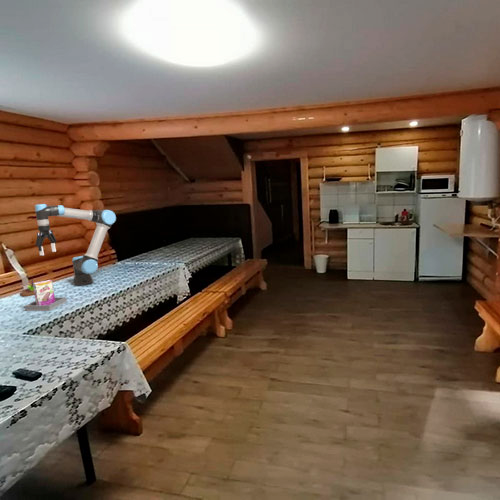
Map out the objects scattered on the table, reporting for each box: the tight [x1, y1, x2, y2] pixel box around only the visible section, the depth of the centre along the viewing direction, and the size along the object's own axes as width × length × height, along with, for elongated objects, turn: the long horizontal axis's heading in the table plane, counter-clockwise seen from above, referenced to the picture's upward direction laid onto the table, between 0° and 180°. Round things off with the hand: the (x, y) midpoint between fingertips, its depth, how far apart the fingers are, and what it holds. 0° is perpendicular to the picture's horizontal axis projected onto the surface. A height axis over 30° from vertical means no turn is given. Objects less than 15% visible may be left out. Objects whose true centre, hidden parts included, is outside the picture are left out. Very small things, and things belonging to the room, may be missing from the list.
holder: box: [24, 296, 68, 312], centre depth 262 cm, size 18×18×4 cm
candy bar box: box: [33, 279, 56, 305], centre depth 261 cm, size 11×5×16 cm, turn 134°
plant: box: [19, 278, 41, 298], centre depth 300 cm, size 20×20×11 cm
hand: (48, 253), depth 286 cm, fingers open, 13 cm apart
